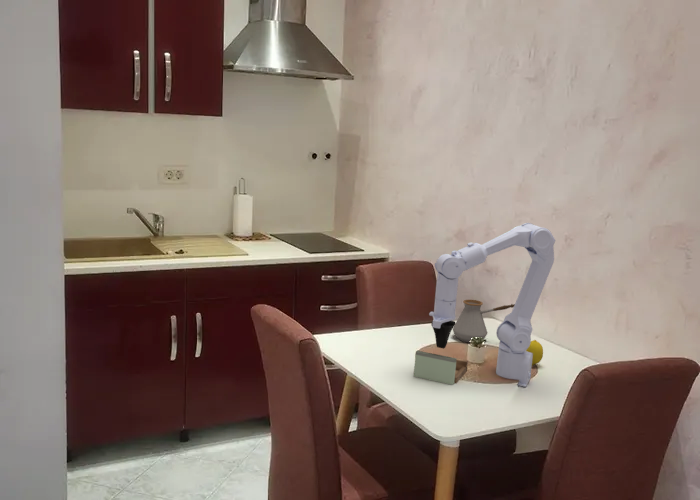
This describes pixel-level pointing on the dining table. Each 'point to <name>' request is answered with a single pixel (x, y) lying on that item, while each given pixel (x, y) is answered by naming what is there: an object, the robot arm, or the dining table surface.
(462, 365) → the tray
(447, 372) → the panel
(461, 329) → the coffee pot
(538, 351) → the lemon
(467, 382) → the dining table surface
